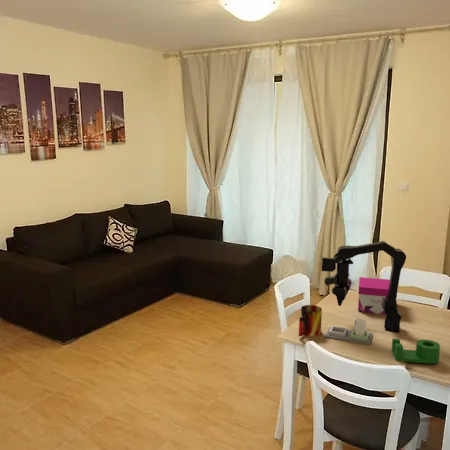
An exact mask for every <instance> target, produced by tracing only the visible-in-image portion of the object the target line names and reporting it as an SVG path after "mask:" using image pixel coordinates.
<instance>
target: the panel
mask: <svg viewBox="0 0 450 450" xmlns="http://www.w3.org/2000/svg"><path fill="white" fill-rule="evenodd" d="M373 335H374V334H373V333H371V332H370V331H368V330H365V336H359V335H355V328H354V329H348V327H344V326H343V327H342V326H336V325H331V326H329V328H328V329H327V332H326V333H325V335H324V338H326V339H331V340H336V341H337V340H338V341H341V342H342V341H343V342H349V343H354V344H355V343H356V344H361V345H366V346H370V344H371V341H372V338H373Z"/></svg>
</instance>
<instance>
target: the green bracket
mask: <svg viewBox="0 0 450 450" xmlns="http://www.w3.org/2000/svg"><path fill="white" fill-rule="evenodd" d="M391 340H392V341H391V352H392V355H393V357H394V360H395V361H399V362H406V363H420V364H438V363H439V361H440V352H441V345H440V343H438V342H437V341H433V340H432V339H431V340H429V339H418V340H417V341H416V344H415V346H416V347H415V349H404V345H403V343H401V340H400V338H391Z"/></svg>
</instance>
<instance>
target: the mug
mask: <svg viewBox="0 0 450 450" xmlns="http://www.w3.org/2000/svg"><path fill="white" fill-rule="evenodd" d="M300 308H301V309H300V310H301V312H300V317H299V319H298V321H299V322H298V337H302V336H304V335H305V336H308V337H318V336H320V335H321V334H322V314H323V313H322V311H323V308H322V307H321V306H319V305H316V304H315V305H314V304H305V305H302V306H301V307H300Z"/></svg>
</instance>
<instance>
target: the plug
mask: <svg viewBox="0 0 450 450" xmlns="http://www.w3.org/2000/svg"><path fill="white" fill-rule="evenodd" d="M366 324H367V319H366V318H359V317H357V318H356V319H355V320H354V326H355V328H354V329H355V335H359V336H365V331H366V326H367V325H366Z"/></svg>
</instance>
